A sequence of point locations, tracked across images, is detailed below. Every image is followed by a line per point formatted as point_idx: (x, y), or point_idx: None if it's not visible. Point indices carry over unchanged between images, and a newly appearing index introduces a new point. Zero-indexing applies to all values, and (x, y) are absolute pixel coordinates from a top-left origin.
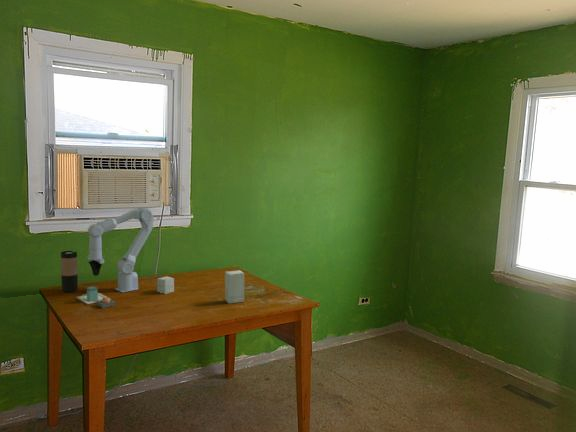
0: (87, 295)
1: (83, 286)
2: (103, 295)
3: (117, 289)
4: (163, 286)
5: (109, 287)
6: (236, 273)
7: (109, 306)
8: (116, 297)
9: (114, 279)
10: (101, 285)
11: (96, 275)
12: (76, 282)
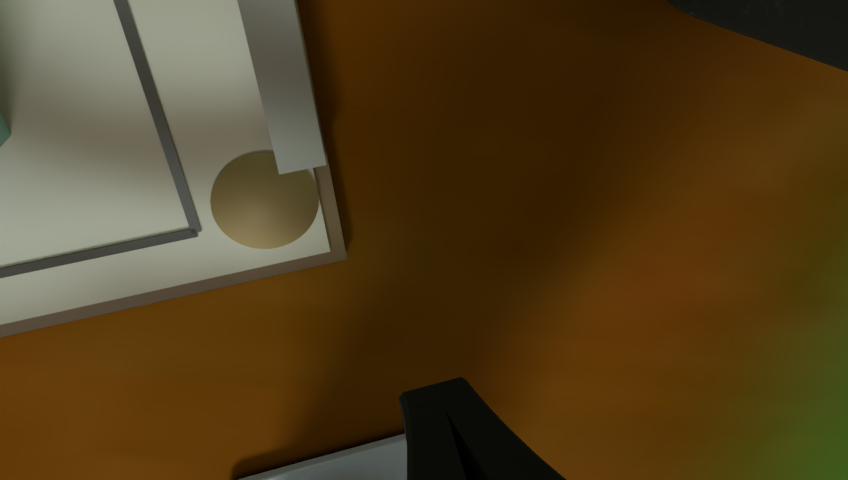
0: None
1: (790, 134)
2: (142, 284)
3: (358, 457)
4: None
5: (543, 386)
6: None
7: None
8: (19, 412)
9: (779, 450)
10: (677, 324)
11: (404, 425)
12: (747, 13)
